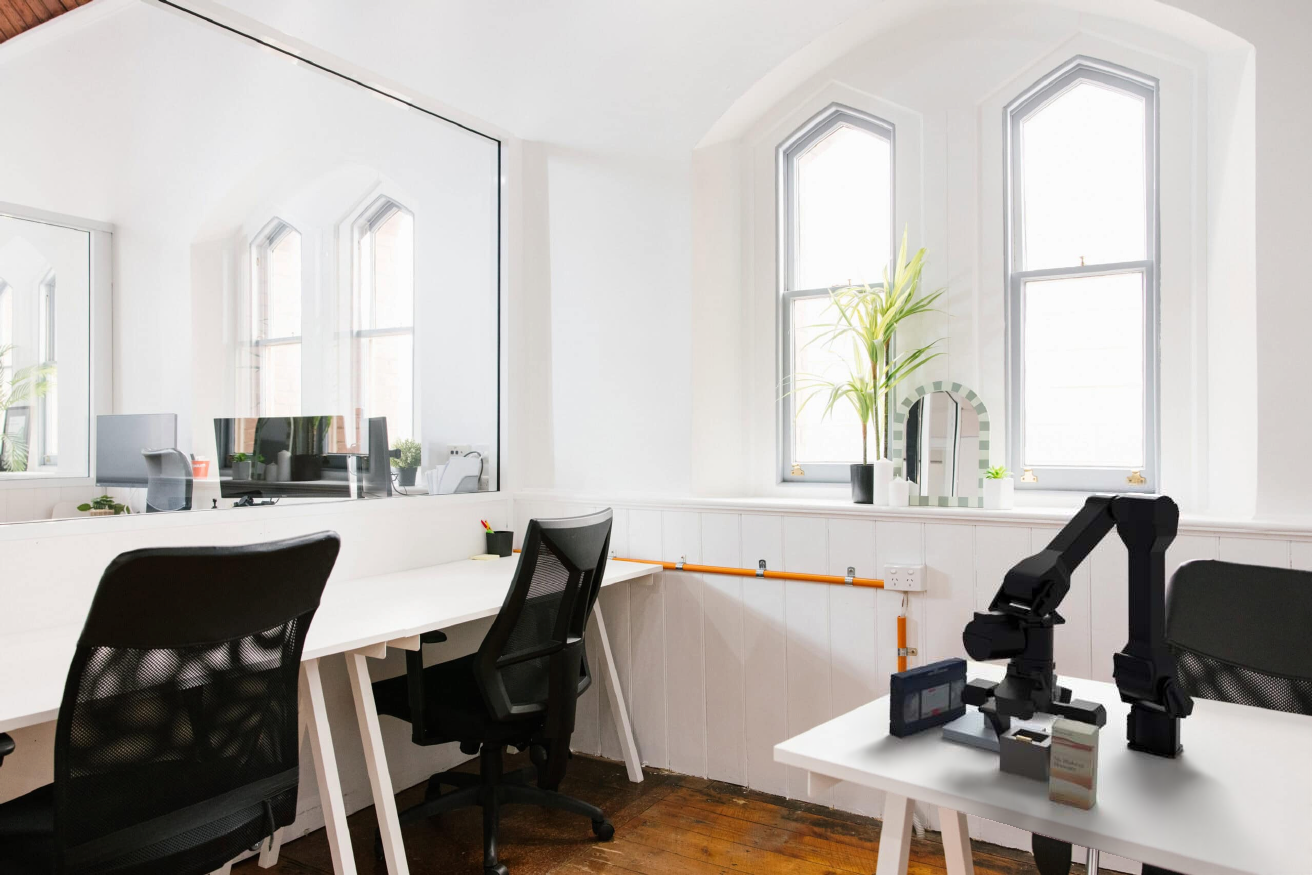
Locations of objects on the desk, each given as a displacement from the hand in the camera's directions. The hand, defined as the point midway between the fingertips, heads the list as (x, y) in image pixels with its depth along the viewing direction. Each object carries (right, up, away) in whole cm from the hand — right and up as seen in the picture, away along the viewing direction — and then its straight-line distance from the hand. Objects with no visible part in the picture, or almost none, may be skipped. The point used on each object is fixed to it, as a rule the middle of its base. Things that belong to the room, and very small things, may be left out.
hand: (1030, 762), depth 122 cm
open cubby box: (0, -1, 0) cm, 1 cm away
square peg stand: (0, -1, +13) cm, 13 cm away
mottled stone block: (+16, -2, +32) cm, 35 cm away
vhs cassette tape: (-9, -1, +19) cm, 21 cm away
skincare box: (+1, -1, -10) cm, 10 cm away
